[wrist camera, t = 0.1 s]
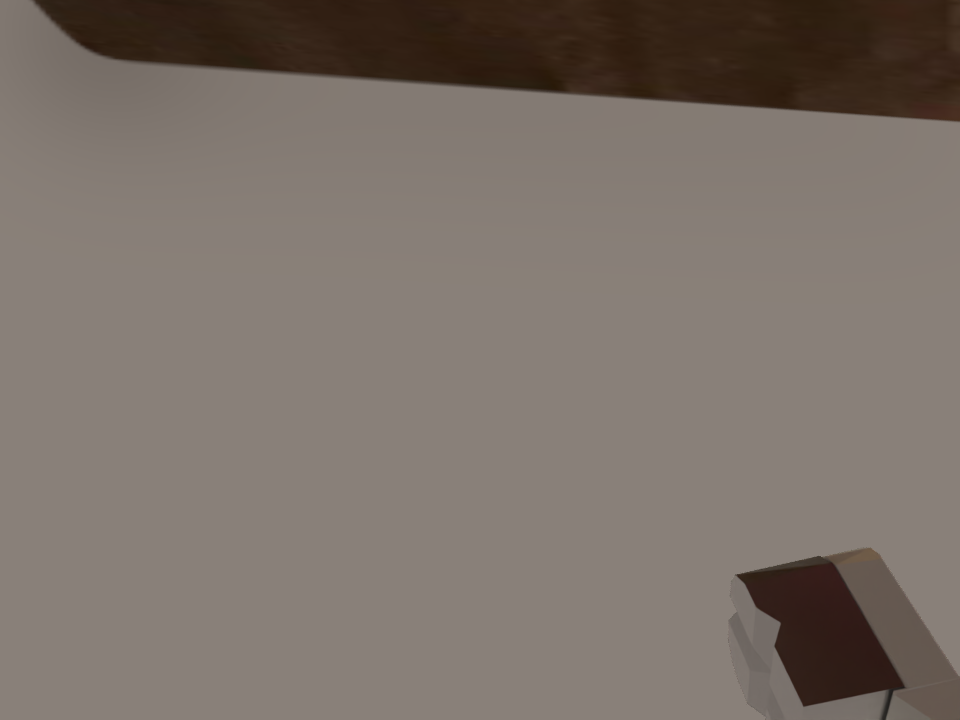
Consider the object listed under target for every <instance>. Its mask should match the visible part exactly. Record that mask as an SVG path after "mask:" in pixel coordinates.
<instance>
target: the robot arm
mask: <svg viewBox="0 0 960 720" xmlns="http://www.w3.org/2000/svg"><path fill="white" fill-rule="evenodd" d="M730 597H731V599H732V601H733V604H734V606H735V608H736V610H737V612H736V613H735V614H734V615H733V616H732V617H731V618H730V620H729V622H728V641H729V647H730V652H731V658H732V663H733V666H734V669H735V673H736V675H737V679H738V682H739V684H740V687H741V689H742V692H743V694H744V697H745V699H746V701H747V704H749V705H750V706H751V707H753V708H754V709H756V710H757V711H758V712H760V713H761V714H762V715H764V716H765V717H766V719H765V720H960V677H959V676H958V674H957V673H956V671H955V670H954V668H953V667H952V665H951V663H950V662H949V660H948V659H947V657H946V656H945V654H944V653H943V651H942V650H941V648H940V647H939V645H938V644H937V642H936V640H935V639H934V637H933V636H932V634H931V633H930V631H929V630H928V628H927V627H926V625H925V624H924V622H923V620H922V619H921V617H920V616H919V614H918V613H917V611H916V610H915V608H914V607H913V605H912V604H911V602H910V600H909V599H908V597H907V596H906V594H905V593H904V591H903V590H902V588H901V587H900V585H899V583H898V582H897V580H896V579H895V577H894V576H893V574H892V573H891V571H890V570H889V568H888V567H887V565H886V564H885V562H884V561H883V559H882V557H881V556H880V555H879V554H878V553H877V552H875V551H874V550H872V549H871V548H859V549H855V550H851V551H846V552H842V553H838V554H833V555H829V556H825V557H821V556H817V557H813V558H808V559H804V560H799V561H795V562H790V563H786V564H782V565H777V566H773V567H768V568H764V569H759V570H755V571H750V572H746V573H742V574H737V575H735V576H734V578H733V579H732V581H731V589H730Z"/></svg>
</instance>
